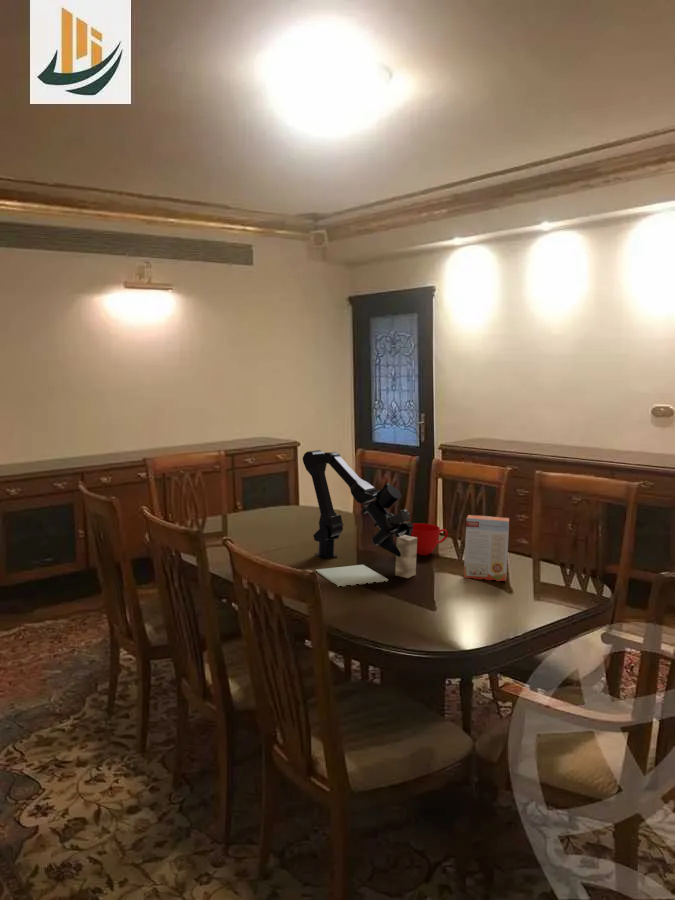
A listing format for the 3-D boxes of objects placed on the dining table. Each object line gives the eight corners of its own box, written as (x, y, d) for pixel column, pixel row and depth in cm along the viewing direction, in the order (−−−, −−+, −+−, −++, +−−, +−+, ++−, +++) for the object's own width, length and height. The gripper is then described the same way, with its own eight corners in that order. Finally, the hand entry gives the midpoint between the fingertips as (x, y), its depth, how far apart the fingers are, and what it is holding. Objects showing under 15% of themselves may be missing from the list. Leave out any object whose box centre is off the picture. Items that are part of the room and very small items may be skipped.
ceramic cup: (453, 556, 272) (455, 530, 270) (411, 558, 267) (413, 532, 266) (439, 547, 284) (440, 522, 283) (399, 549, 279) (400, 523, 278)
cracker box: (506, 577, 247) (510, 517, 244) (505, 582, 241) (509, 521, 238) (464, 573, 251) (468, 513, 248) (463, 578, 245) (466, 517, 242)
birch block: (395, 575, 246) (396, 537, 244) (403, 571, 250) (404, 535, 248) (407, 578, 243) (409, 540, 241) (415, 574, 247) (417, 537, 245)
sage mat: (315, 571, 248) (315, 569, 247) (362, 566, 255) (363, 564, 255) (338, 586, 231) (338, 585, 231) (387, 581, 239) (388, 579, 239)
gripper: (380, 506, 239) (408, 544, 234) (409, 498, 254) (436, 534, 249) (360, 526, 245) (386, 564, 239) (390, 517, 259) (415, 553, 254)
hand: (407, 553), depth 245 cm, fingers open, 9 cm apart
